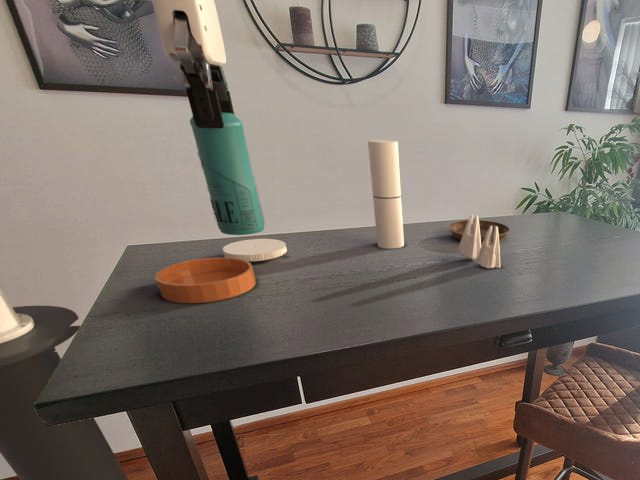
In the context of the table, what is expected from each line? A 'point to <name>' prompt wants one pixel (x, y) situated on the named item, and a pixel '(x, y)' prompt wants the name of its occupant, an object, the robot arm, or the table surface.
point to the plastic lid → (255, 249)
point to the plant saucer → (460, 227)
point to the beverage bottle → (229, 173)
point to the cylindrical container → (386, 192)
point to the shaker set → (473, 248)
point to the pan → (205, 280)
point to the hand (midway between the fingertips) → (217, 124)
